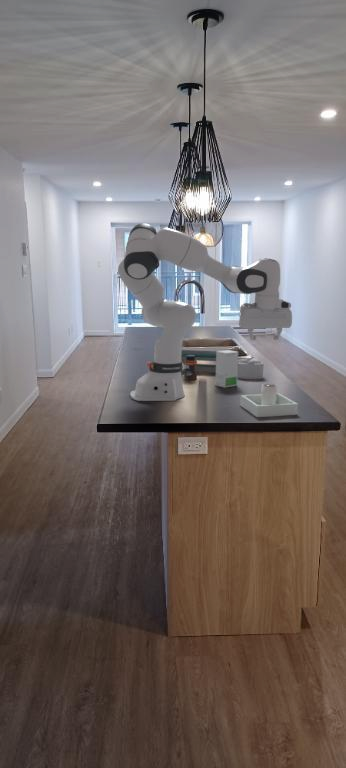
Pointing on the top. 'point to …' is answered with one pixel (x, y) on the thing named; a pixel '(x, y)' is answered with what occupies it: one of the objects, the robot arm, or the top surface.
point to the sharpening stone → (202, 357)
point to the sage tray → (268, 406)
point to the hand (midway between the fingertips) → (264, 339)
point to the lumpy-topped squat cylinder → (250, 369)
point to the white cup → (268, 394)
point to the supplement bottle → (190, 368)
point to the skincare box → (226, 368)
